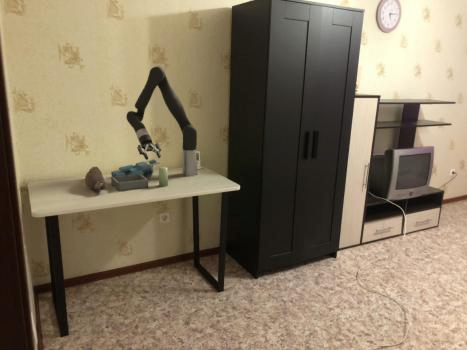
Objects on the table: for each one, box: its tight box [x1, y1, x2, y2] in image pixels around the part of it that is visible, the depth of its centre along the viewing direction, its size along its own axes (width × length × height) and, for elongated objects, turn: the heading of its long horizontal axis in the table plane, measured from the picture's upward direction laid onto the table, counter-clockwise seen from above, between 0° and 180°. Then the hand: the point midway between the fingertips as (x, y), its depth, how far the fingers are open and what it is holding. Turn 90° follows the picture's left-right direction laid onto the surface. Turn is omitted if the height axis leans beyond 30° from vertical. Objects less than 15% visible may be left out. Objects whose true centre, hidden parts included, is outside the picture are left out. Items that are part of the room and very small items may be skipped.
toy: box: [110, 158, 161, 179], centre depth 245 cm, size 22×9×30 cm
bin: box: [111, 174, 149, 192], centre depth 222 cm, size 17×14×5 cm
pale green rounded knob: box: [158, 166, 169, 188], centre depth 225 cm, size 5×5×11 cm
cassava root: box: [84, 166, 107, 191], centre depth 220 cm, size 41×11×10 cm
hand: (153, 158), depth 231 cm, fingers open, 8 cm apart
